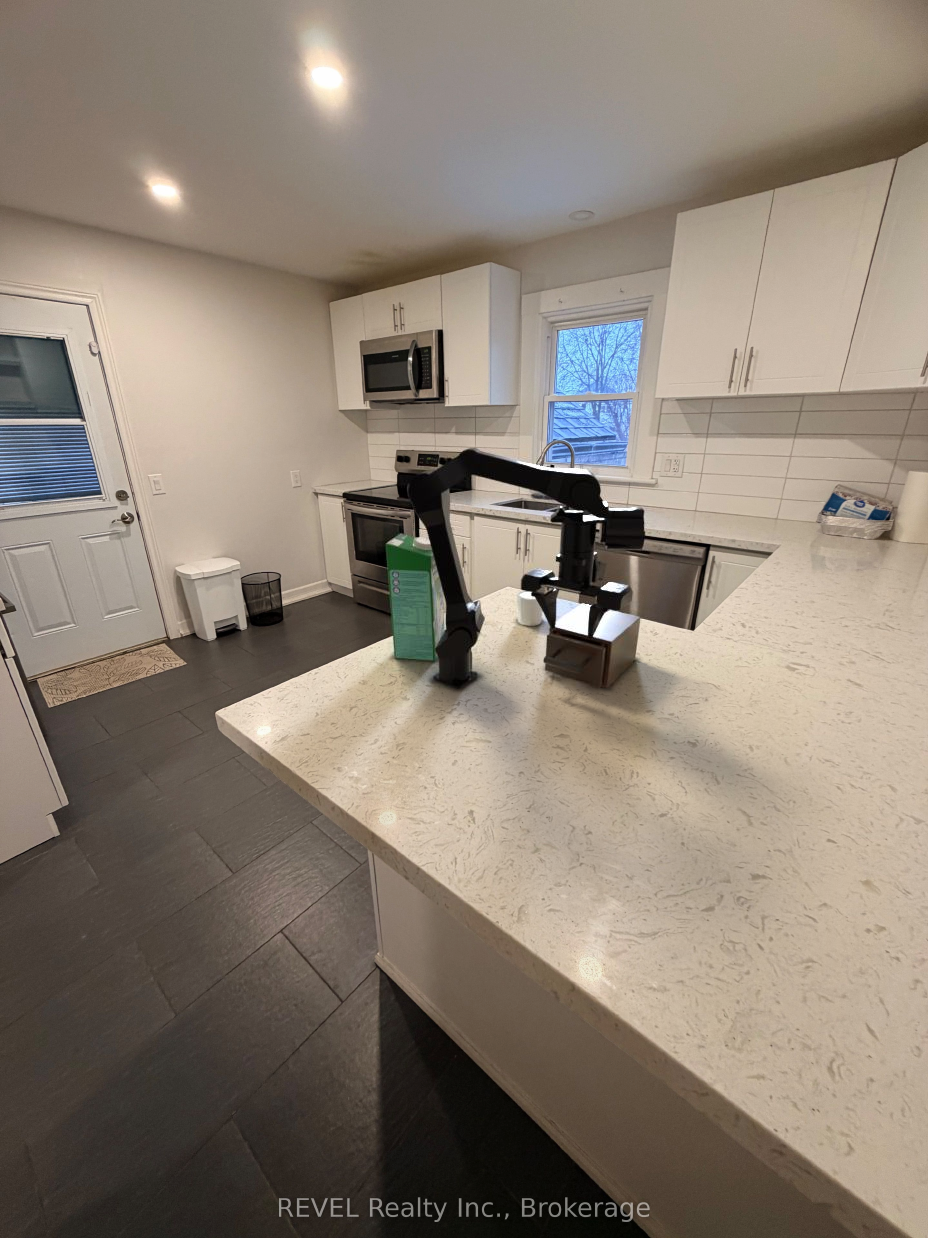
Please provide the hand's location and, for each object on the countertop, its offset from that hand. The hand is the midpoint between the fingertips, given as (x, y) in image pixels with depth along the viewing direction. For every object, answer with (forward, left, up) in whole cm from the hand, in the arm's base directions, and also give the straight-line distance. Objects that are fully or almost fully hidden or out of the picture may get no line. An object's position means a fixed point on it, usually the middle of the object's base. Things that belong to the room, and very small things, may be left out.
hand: (571, 632), depth 89 cm
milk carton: (-5, +33, -11) cm, 35 cm away
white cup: (+23, +22, -11) cm, 34 cm away
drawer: (+6, 0, -10) cm, 12 cm away
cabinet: (+11, 0, -11) cm, 15 cm away
